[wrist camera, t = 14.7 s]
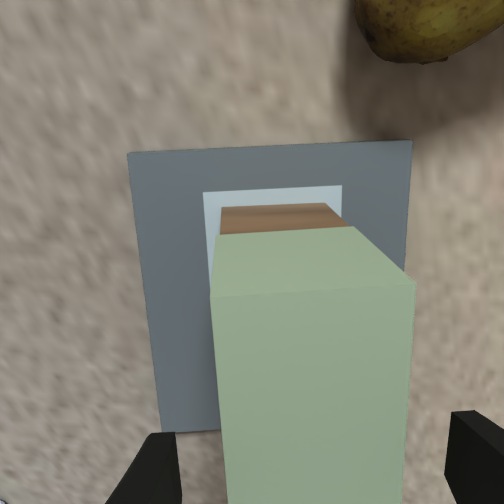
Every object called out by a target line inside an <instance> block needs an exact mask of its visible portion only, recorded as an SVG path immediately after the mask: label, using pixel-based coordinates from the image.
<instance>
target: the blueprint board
mask: <svg viewBox="0 0 504 504" xmlns="http://www.w3.org/2000/svg"><path fill="white" fill-rule="evenodd" d="M412 147H413V140H407V139H401V140H380V141H358V142H337V143H316V144H295V145H273V146H252V147H231V148H209V149H188V150H167V151H145V152H130V153H128V154H127V160H128V168H129V176H130V184H131V192H132V200H133V207H134V215H135V223H136V231H137V239H138V247H139V255H140V263H141V270H142V278H143V286H144V294H145V302H146V310H147V318H148V326H149V333H150V341H151V349H152V357H153V365H154V373H155V381H156V389H157V396H158V404H159V412H160V420H161V428H162V432H189V431H203V430H218V429H221V418H220V407H219V395H218V384H217V373H216V361H215V350H214V339H213V327H212V316H211V305H210V291H211V281H212V270H213V259H214V249H215V238H216V235H220V224H221V208H222V207H232V206H255V205H278V204H301V203H324V202H325V203H326V204H327V205H328V206H329V207H330V208H331V209H332V210H333V211H334V212H335V213H337V214H338V215H339V216H340V217H341V218H342V219H343V220H344V221H345V222H346V223H347V224H348V225H349V226H354V227H355V228H356V229H357V230H358V231H359V232H361V233H362V234H363V235H364V236H365V237H366V238H367V239H368V240H369V241H370V242H372V243H373V244H374V245H375V246H376V247H377V248H378V249H379V250H380V251H381V252H383V253H384V254H385V255H386V256H387V257H388V258H389V259H390V260H391V261H392V262H393V263H395V264H396V265H397V266H398V267H399V268H400V269H401V270H402V271H403V272H404V263H405V248H406V234H407V219H408V205H409V190H410V176H411V162H412Z"/></svg>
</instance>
